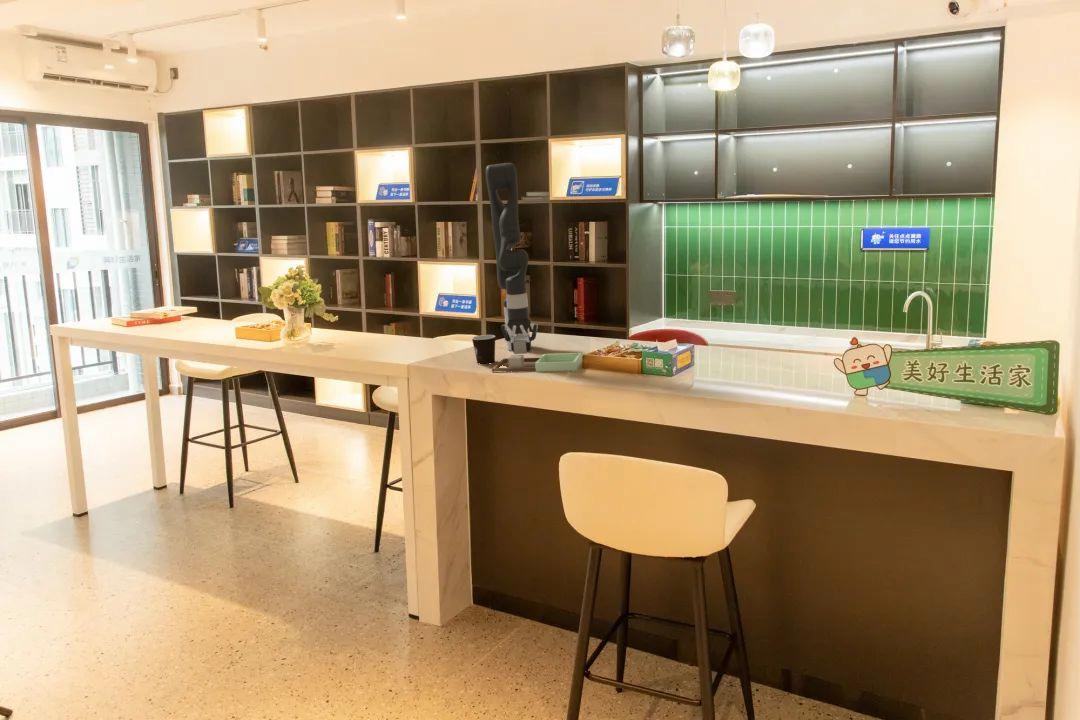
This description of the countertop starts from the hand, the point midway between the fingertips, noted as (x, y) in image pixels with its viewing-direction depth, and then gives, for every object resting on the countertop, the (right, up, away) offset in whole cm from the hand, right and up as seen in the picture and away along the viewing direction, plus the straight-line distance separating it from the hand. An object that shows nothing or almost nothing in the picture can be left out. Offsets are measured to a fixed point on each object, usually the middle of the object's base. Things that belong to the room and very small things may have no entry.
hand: (521, 351), depth 300 cm
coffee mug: (-13, -4, +9) cm, 16 cm away
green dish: (+14, -6, -9) cm, 17 cm away
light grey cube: (-2, -6, -7) cm, 10 cm away
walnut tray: (-1, -6, -3) cm, 7 cm away
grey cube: (0, 0, 0) cm, 0 cm away
